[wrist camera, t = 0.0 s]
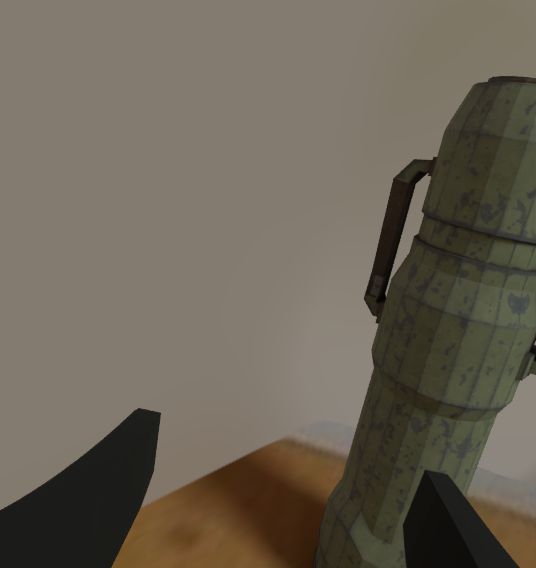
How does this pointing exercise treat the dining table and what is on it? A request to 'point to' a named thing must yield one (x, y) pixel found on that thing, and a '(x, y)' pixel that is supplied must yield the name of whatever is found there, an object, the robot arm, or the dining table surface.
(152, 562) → the dining table surface
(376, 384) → the thermos
